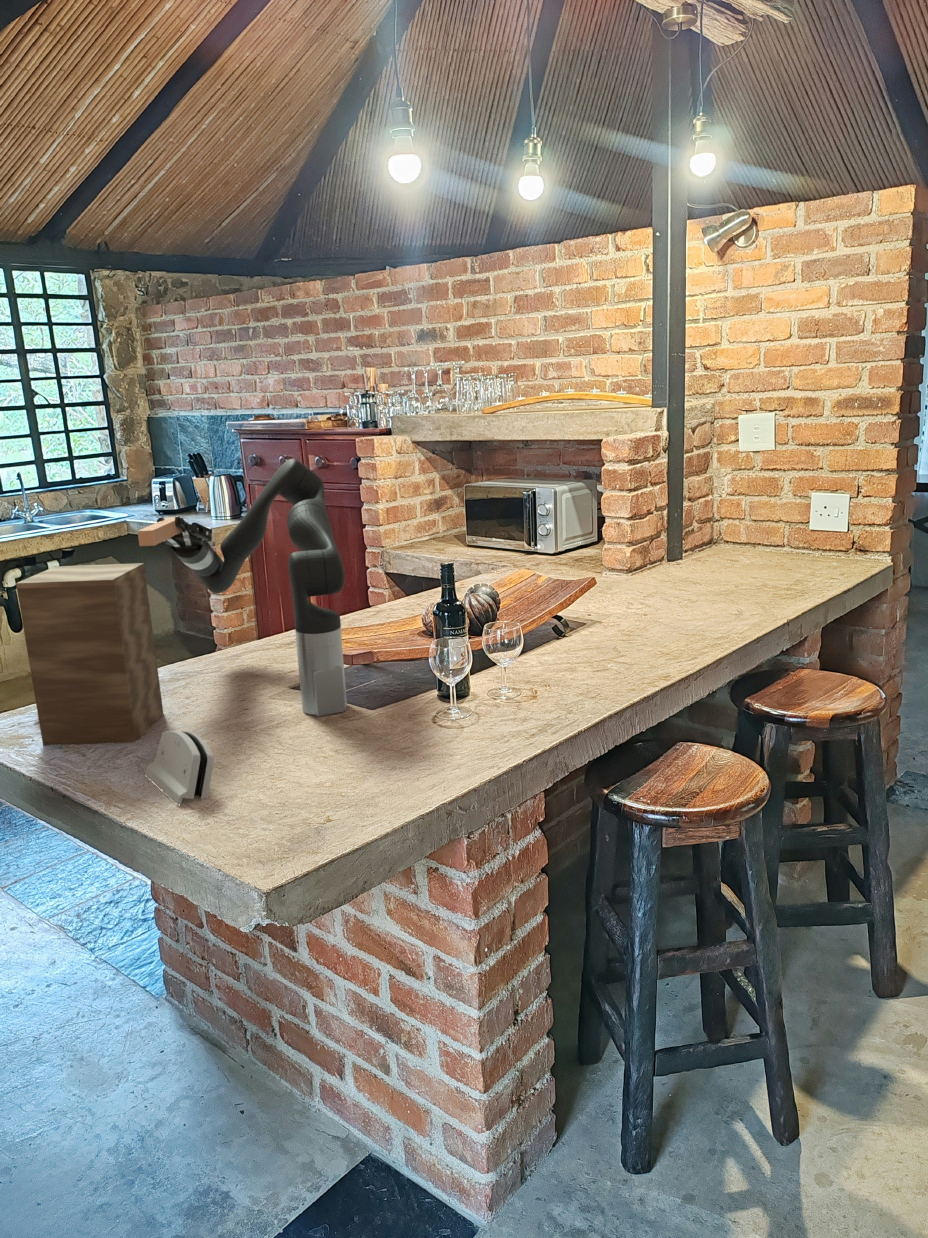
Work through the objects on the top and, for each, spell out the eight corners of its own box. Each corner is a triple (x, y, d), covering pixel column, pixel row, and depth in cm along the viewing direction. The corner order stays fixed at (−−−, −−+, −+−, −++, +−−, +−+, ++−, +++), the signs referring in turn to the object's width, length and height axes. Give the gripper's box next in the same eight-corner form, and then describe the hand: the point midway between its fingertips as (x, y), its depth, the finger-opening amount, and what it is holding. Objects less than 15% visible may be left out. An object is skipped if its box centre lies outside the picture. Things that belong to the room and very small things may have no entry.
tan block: (170, 531, 198) (169, 517, 197) (184, 530, 198) (183, 516, 197) (139, 546, 178) (137, 531, 178) (154, 545, 178) (152, 530, 178)
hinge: (144, 775, 159) (156, 720, 159) (170, 776, 162) (182, 722, 161) (178, 807, 146) (191, 747, 146) (206, 808, 149) (219, 749, 148)
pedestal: (78, 716, 190) (55, 566, 182) (163, 713, 190) (143, 563, 182) (43, 745, 175) (16, 583, 167) (135, 742, 174) (112, 579, 166)
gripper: (163, 535, 209) (136, 505, 193) (224, 532, 209) (202, 502, 193) (161, 565, 207) (134, 538, 191) (223, 563, 207) (200, 535, 191)
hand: (168, 520), depth 192 cm, fingers closed on tan block, 3 cm apart
